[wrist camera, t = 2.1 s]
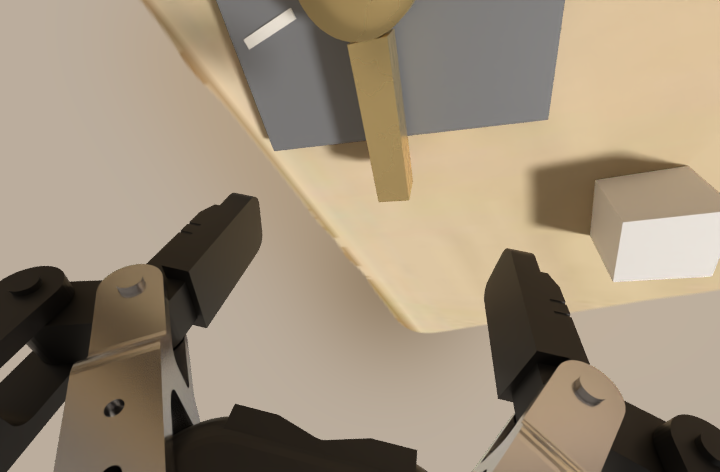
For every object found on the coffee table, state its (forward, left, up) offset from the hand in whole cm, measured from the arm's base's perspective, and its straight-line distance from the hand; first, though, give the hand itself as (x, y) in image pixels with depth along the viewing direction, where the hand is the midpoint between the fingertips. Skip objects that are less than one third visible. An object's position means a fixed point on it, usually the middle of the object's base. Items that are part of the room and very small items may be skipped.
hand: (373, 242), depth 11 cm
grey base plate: (+2, -8, -19) cm, 21 cm away
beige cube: (-17, +12, -20) cm, 29 cm away
